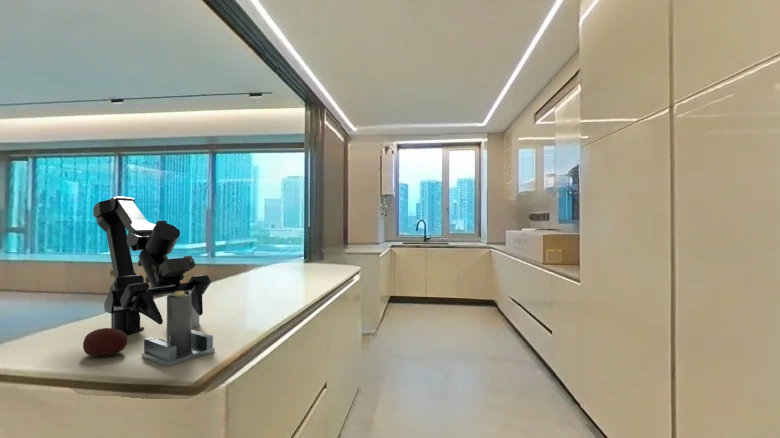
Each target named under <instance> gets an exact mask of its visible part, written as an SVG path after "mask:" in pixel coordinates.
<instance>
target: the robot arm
mask: <svg viewBox="0 0 780 438" xmlns="http://www.w3.org/2000/svg"><path fill="white" fill-rule="evenodd" d="M92 212H93V216H94V218H95V219H96V223H97V226H99V227H100V228H101V229H102V230H103V231H104V232H105V233H106V239H107V245H108V249H109V255H110V260H111V265H112V273H113V275H114V276H113V277H114V279H113V281H112V283H111V284H110V286H109V288H108V290H109V292H108V294H107V296H106V298H105V300H104V304H103V308H104V312H106V313H107V314H110V315H111V321H110V323H111V325H110V328H112V329H117V330H121V331H123V332H124V333H125V334H126V335H127V336H128V335H130V334H133V333H136V332H139V331H142V330H144V329H145V326H144V327H143V326H141V314H142V315H144V316H146V317H148V318H149V319H150V320H151V321H153V322H155V323H156V324H158V325H162V324H163V323H164V321H163V317H162V314H161V312H160V310H159V308H158V306H157V304H156V302H155V300H154V296H155V297H156V296H161V295H162V296H167V294H173V293H175V291H184V292H185V293H186V294H188V295H191V296H192V298H191V305H192V306H193V308H194V309H195V311H196V312H197V313H198V314H199V316H202V315H203V314H204V313H203V312H204V311H203V308H204V307H203V295H204V294H205V292H206V291H207V289H208V288H209V286H210V285H211V283H212V279H211V278H210V277H209V275H207V274H201V275H200V274H199V275H192V276H191V277H190V279H189V280H188V282H183V283H182V282H181V281H183V280H184V279H185V276H184V274H186V273H187V272H190V271H191V270H193V269H194V268H195V266H196V262H195V260H194V258H193V257H192V255H186V256H183V257H178V258H177V257H176V258H169V257H168V255H169V254H171V253H172V252H173V250H174V247H175V246H176V244H177V242H178V240H179V238H180V235H181V231H180V229H179V228H178V227H176V226H175V225H173V224H169V223H168V222H167V220H157V221H156V223H151V222H150V221H147V219H146V217H145V216H144V215H143V213H142V212H141V211H140V209H139V208H138V207H137V205H136V200H135V198H133V197H130V196H114V197H113V196H112V197H111V198H110V199H106V200H105V199H104V200H100V201H99V202H97V203H96V204H95V205H94V206H93V210H92ZM127 232H128V233H127ZM131 251H133V252H136V251H137V252H138V251H140V253H139V254H138V261H137V266H138V267H142V268H143V270H144V271H143V272H144V273H145V275H146V277H145V279H144V276H143V275H142V274H138V273H136V272H135V270H134V269H135V268H134V264H133V259H132V255H131V254H132V253H131ZM150 285H151V286H150Z"/></svg>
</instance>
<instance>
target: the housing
mask: <svg viewBox="0 0 780 438" xmlns="http://www.w3.org/2000/svg"><path fill="white" fill-rule="evenodd" d="M158 339H159V338H155V337H152V336H151V337H146V338H143V341H144V342H143V346H144V347H143V351H142V352H141V358H143V359H146V360H148V361H151V362H152V363H153V362H154V363H155V364H158V365H160V366H163V367H164V368H165V367H166V368H169V367H172V366H174V365H175V366H176V365H178V364H181V363H184V362H187V361H191V360H193V359H196V358H200V357H203V356H205V355H206V356H207V355H210V354H213V353H215V352H216V348H215V346H213V345H214V343H213V342H214V341H213V340H214V335H212V334H208V333H206V332H202V331H198V330H195V329H191V349H190V350H189V351H186V352H183V353H176V346H175V345H173V344H170V343H167V342H164V341H161V340H158ZM212 352H213V353H212Z"/></svg>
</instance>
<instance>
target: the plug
mask: <svg viewBox="0 0 780 438" xmlns="http://www.w3.org/2000/svg"><path fill="white" fill-rule="evenodd" d="M191 298H192V296H191V295H188V294H184V291H175V295H173V296H169V297H167V296H166V340H165V339H162V338H157V339H158V340H161V341H164V342H167V343H170V344H173V345H175V346H176V353H183V352H186V351H189V350H190V349H191V330H192V328H191Z"/></svg>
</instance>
